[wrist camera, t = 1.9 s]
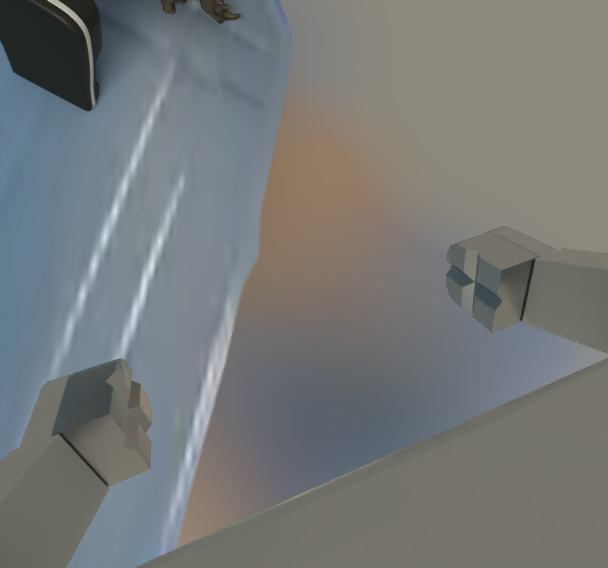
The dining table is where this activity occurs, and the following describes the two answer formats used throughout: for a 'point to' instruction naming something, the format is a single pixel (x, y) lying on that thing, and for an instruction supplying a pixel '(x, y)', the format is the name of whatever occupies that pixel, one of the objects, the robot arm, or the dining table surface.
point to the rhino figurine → (206, 9)
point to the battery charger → (54, 45)
